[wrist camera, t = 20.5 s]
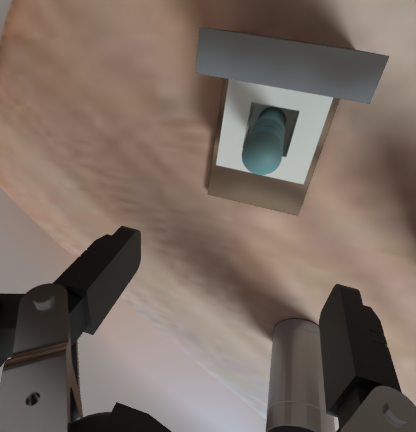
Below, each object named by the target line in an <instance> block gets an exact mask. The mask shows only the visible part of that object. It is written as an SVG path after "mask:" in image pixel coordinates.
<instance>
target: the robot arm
mask: <svg viewBox="0 0 416 432" xmlns="http://www.w3.org/2000/svg"><path fill="white" fill-rule="evenodd" d="M140 261H141V233H140V231H139V230H136V229H132V228H128V227H125V226H121V227H120V228H119V229H118V230H117V231H116V232H115V233H114V234H113V235H112V236H111V235H108V234H107V235H105V236H103V237H101V238H99V239H97V240H95V241H94V242H93V243H92V244H91V245H90V246H89V247H88V248H87V250H85V251H84V252H83V253H82V254H81V256H80V257H78V258H77V259H76V261H75V262H74V263H72V264H71V265H70V267H68V269H66V270H65V272H63V274H61V276H60V277H59V278H58V279H57V280H56V281H55V282H53V283H49V284H43V285H39V286H36V287H34V288H32V289H31V290H29V291H28V292H27V293H26V294H0V367H1V366H2V364H3V363H4V362H5V363H4V367H3V371H2V378H1V383H0V432H171V431H170V430H169V429H167V428H166V427H165V426H163V425H162V424H161V423H159V422H158V421H157V420H156V419H154V418H153V417H152V416H150V415H149V414H147V413H144V412H142V411H139V410H136V409H133V408H131V407H128V406H125V405H123V404H120V403H116V405H115V406H114V408H113V410H112V412H103V413H96V414H92V415H88V416H86V417H83V412H82V403H81V395H80V383H79V382H80V381H79V361H78V343H77V339H78V338H79V337H80V335H81V334H82V332H86V333H89V334H92V335H93V334H94V333H95V331H96V330H97V329H98V327H99V326H100V324H101V323H102V321H103V320H104V318H105V317H106V315H107V314H108V313H109V311H110V310H111V308H112V307H113V305H114V304H115V302H116V301H117V299H118V298H119V296H120V295H121V294H122V292H123V291H124V289H125V288H126V286H127V285H128V283H129V282H130V280H131V279H132V277H133V276H134V275H135V273H136V272H137V270H138V267H139V265H140ZM8 357H12V358H11V359H8V360H7V358H8ZM334 416H335V417H338V421H339V429H338V430H337V431H336V432H416V406H415V405H414V404H413V403H412V401H411V400H409V399H408V398H407V397H406V396H405V395H404V394H402V392H401V389H400V385H399V382H398V379H397V375H396V372H395V369H394V365H393V362H392V359H391V355H390V352H389V349H388V347H387V342H386V339H385V336H384V332H383V329H382V325H381V322H380V320H379V318H378V317H377V315H376V314H375V313H374V311H373V310H372V308H371V307H368V306H364V305H363V303H362V299H361V295H360V292H359V290H358V289H354V288H351V287H347V286H343V285H340V284H336V285H335V286H334V288H333V290H332V292H331V293H330V295H329V297H328V299H327V301H326V303H325V305H324V307H323V309H322V311H321V314H320V319H319V326H317V325H316V324H314V323H312V322H309V321H307V320H302V319H288V320H284V321H282V322H280V323H279V324H277V325H276V327H275V328H274V331H273V344H272V355H271V368H270V381H269V394H268V407H267V423H266V432H335V424H334Z"/></svg>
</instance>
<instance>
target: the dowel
mask: <svg viewBox="0 0 416 432" xmlns="http://www.w3.org/2000/svg"><path fill="white" fill-rule="evenodd" d="M285 128H286V116H285V113H284V112H283V111H282V110H281V109H280V108H278V107H268V108H266V109H264V110H263V111H262V112H261V113H260V115H259V117H258V119H257V121H256V123H255V125H254V127H253V129H252V131H251V133H250V135H249V137H248V140H247V142H246V144H245V146H244V148H243V150H242V161H243V164H244V166H245V167H246V168H247V169H248V170H249V171H250V172H252V173H254V174H257V175H266V174H270V173H272V172H273V171H275V170H276V169H277V168H278V166H279V165H280V163H281V160H282V153H283V144H284V136H285Z"/></svg>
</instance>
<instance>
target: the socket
mask: <svg viewBox="0 0 416 432" xmlns="http://www.w3.org/2000/svg"><path fill="white" fill-rule="evenodd" d="M332 100H333V97H328V96H323V95H317V94H311V93H305V92H300V91H294V90H288V89H283V88H277V87H271V86H266V85H260V84H254V83H249V82H243V81H237V80H232V79H229V82H228V88H227V95H226V102H225V108H224V115H223V122H222V128H221V135H220V142H219V148H218V155H217V161H216V165H218V166H223V167H227V168H232V169H236V170H241V171H245V172H250V171H249V170H248V169H247V168H246V167H245V166H244V164H243V161H242V150H243V148H244V146H245V144H246V142H247V140H248V137H249V135H250V133H251V131H252V129H253V127H254V125H255V123H256V121H257V119H258V117H259V115H260V113H261V112H262V111H263V110H264V109H266V108H268V107H278V108H280V109H281V110H282V111H283V112H284V113H285V116H286V128H285V136H284V144H283V153H282V160H281V163H280V165H279V166H278V168H277V169H276V170H275V171H273V172H272V173H270V174H266V175H263V176H268V177H272V178H277V179H281V180H286V181H290V182H295V183H299V184H304V182H305V179H306V176H307V173H308V170H309V167H310V164H311V161H312V158H313V155H314V153H315V150H316V147H317V144H318V141H319V138H320V135H321V132H322V129H323V126H324V123H325V121H326V118H327V115H328V112H329V109H330V106H331V103H332ZM250 173H252V172H250Z"/></svg>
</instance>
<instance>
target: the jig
mask: <svg viewBox="0 0 416 432" xmlns="http://www.w3.org/2000/svg"><path fill="white" fill-rule="evenodd" d="M388 58H389V56H386V55H380V54H375V53H370V52H364V51H359V50H353V49H347V48H340V47H333V46H327V45H320V44H314V43H307V42H300V41H294V40H287V39H281V38H274V37H267V36H261V35H254V34H248V33H241V32H234V31H226V30H218V29H209V28H201V27H200V31H199V42H198V53H197V63H196V73H198V74H203V75H209V76H215V77H220V78H224V82H223V89H222V96H221V103H220V110H219V117H218V124H217V131H216V139H215V146H214V153H213V160H212V167H211V174H210V181H209V188H208V195H212V196H216V197H221V198H225V199H229V200H233V201H237V202H242V203H246V204H250V205H254V206H258V207H262V208H267V209H271V210H275V211H279V212H283V213H288V214H292V215H296V216H298V215H299V212H300V209H301V207H302V204H303V201H304V198H305V195H306V193H307V190H308V187H309V184H310V181H311V178H312V176H313V173H314V170H315V167H316V164H317V162H318V159H319V156H320V153H321V150H322V148H323V145H324V142H325V139H326V136H327V134H328V131H329V128H330V125H331V122H332V120H333V117H334V114H335V111H336V108H337V106H338V103H339V100H340V99H345V100H351V101H357V102H362V103H368V104H370V102H371V99H372V97H373V95H374V92H375V90H376V87H377V85H378V82H379V80H380V78H381V75H382V73H383V70H384V68H385V66H386V63H387V61H388ZM229 79H232V80H237V81H243V82H249V83H254V84H260V85H266V86H271V87H277V88H283V89H288V90H294V91H300V92H305V93H311V94H317V95H323V96H328V97H333V100H332V103H331V106H330V109H329V112H328V115H327V118H326V121H325V123H324V126H323V129H322V132H321V135H320V138H319V141H318V144H317V147H316V150H315V153H314V155H313V158H312V161H311V164H310V167H309V170H308V173H307V176H306V179H305V182H304V184H299V183H295V182H290V181H286V180H281V179H277V178H272V177H268V176H263V175H257V174H254V173H250V172H245V171H241V170H236V169H232V168H227V167H223V166H218V165H216V161H217V155H218V148H219V142H220V135H221V128H222V122H223V115H224V108H225V102H226V95H227V88H228V82H229Z"/></svg>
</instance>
